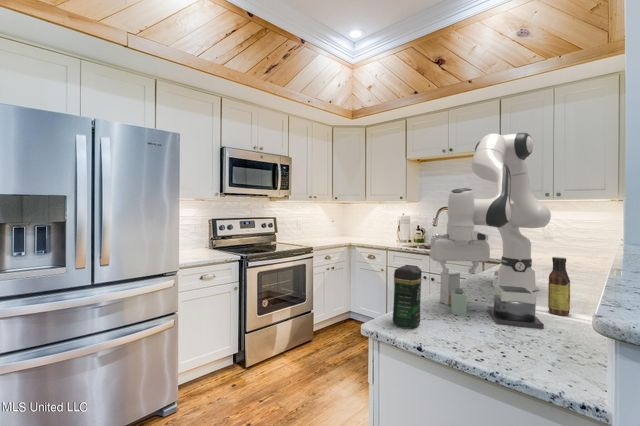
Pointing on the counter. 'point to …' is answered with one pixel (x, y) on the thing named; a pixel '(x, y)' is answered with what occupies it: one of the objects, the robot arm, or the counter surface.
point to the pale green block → (458, 302)
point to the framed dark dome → (515, 307)
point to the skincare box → (448, 286)
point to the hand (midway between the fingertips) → (458, 273)
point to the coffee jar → (407, 296)
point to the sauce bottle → (559, 288)
